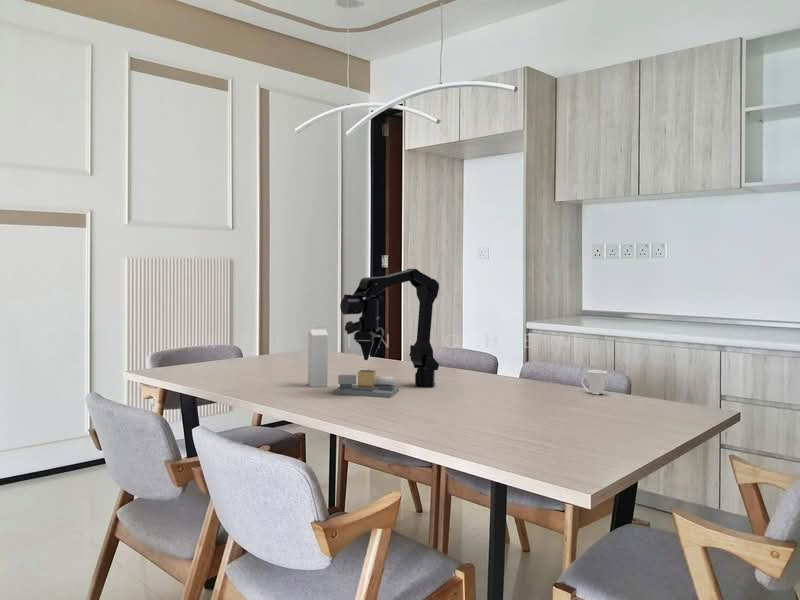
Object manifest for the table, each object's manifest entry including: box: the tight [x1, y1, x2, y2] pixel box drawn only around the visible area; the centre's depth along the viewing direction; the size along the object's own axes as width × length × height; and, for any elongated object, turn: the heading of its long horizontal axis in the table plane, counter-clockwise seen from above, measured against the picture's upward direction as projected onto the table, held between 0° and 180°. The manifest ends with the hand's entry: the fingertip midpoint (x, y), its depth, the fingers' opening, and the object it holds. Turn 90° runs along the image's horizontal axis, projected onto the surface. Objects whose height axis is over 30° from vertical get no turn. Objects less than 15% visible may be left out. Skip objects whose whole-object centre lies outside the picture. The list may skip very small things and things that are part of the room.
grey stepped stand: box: [333, 374, 400, 399], centre depth 222 cm, size 20×12×6 cm, turn 77°
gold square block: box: [357, 369, 377, 389], centre depth 222 cm, size 5×5×6 cm
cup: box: [580, 369, 609, 395], centre depth 228 cm, size 7×10×8 cm
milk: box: [307, 325, 329, 388], centre depth 234 cm, size 6×6×22 cm
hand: (369, 358), depth 223 cm, fingers open, 9 cm apart
